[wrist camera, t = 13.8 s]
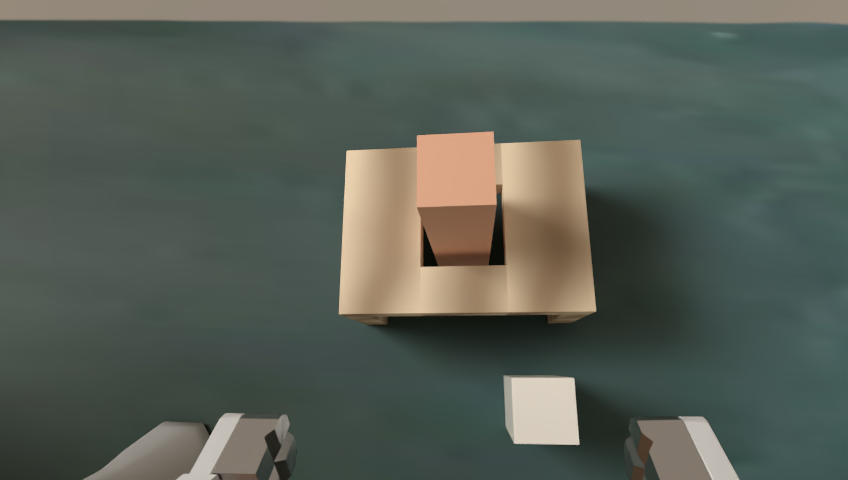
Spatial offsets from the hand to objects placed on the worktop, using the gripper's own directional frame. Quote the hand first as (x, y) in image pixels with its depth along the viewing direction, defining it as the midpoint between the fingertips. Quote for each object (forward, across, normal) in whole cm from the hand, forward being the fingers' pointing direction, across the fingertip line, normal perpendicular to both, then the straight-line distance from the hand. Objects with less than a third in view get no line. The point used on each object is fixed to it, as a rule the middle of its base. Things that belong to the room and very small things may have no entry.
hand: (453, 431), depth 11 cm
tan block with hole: (+21, 0, +8) cm, 23 cm away
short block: (+14, -4, +15) cm, 21 cm away
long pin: (+21, 0, +8) cm, 23 cm away
